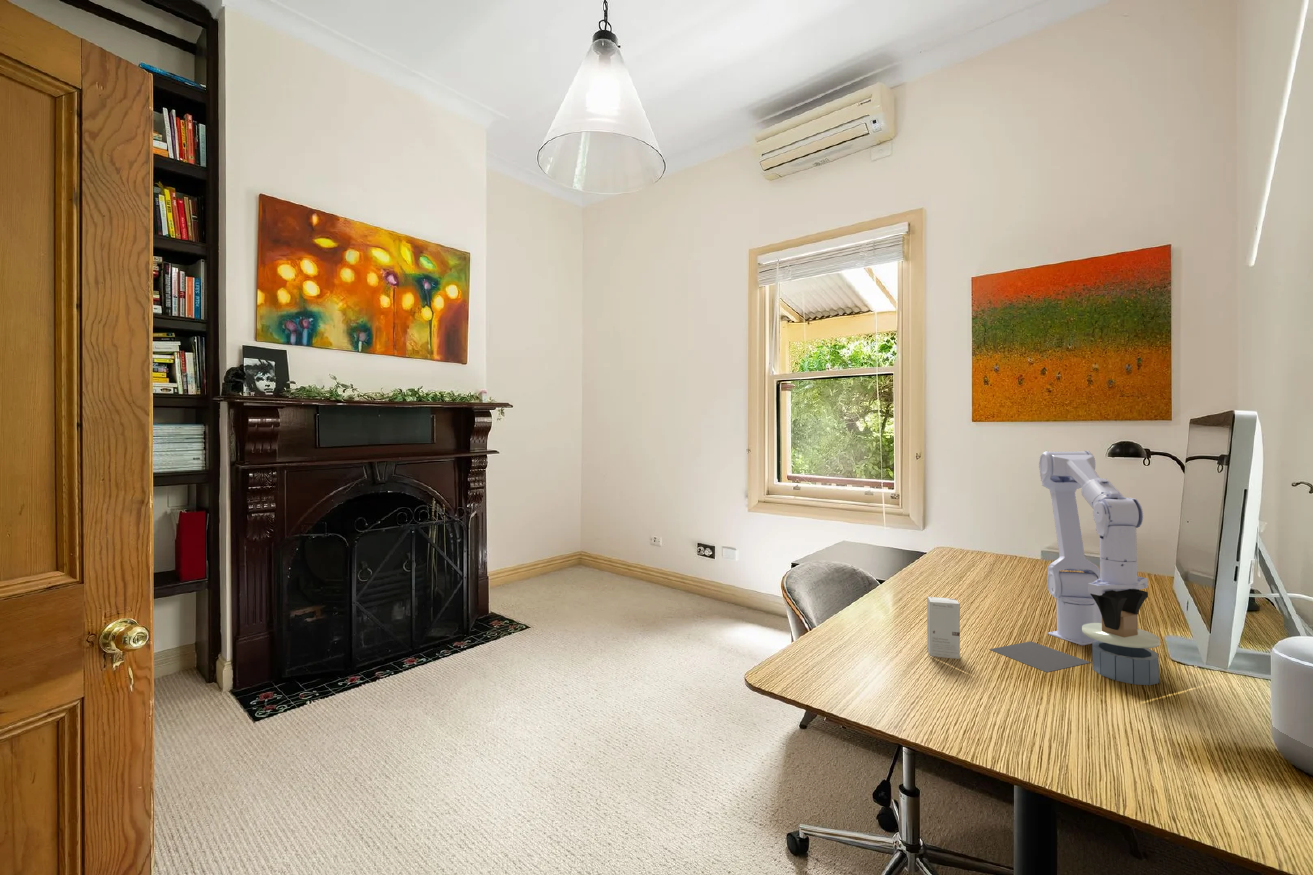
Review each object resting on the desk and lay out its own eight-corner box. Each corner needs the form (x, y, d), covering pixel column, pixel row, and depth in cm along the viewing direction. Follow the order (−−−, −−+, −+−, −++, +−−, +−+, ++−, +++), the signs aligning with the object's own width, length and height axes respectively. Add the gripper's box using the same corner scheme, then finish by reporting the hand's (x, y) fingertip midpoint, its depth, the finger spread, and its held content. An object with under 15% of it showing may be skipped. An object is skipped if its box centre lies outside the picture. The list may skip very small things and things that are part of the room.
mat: (1031, 642, 128) (1031, 641, 128) (1091, 663, 116) (1091, 662, 116) (989, 650, 124) (989, 649, 124) (1046, 673, 112) (1046, 672, 112)
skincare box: (930, 657, 121) (928, 601, 121) (926, 649, 125) (925, 596, 125) (961, 660, 119) (960, 603, 119) (957, 652, 124) (956, 597, 124)
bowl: (1114, 661, 117) (1113, 637, 117) (1171, 680, 107) (1170, 655, 107) (1081, 668, 114) (1080, 644, 114) (1137, 689, 104) (1136, 662, 104)
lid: (1107, 623, 119) (1106, 601, 119) (1175, 642, 107) (1174, 618, 107) (1067, 631, 115) (1067, 607, 115) (1133, 651, 103) (1133, 626, 103)
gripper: (1115, 566, 105) (1117, 638, 105) (1165, 559, 110) (1166, 628, 110) (1076, 558, 112) (1078, 626, 112) (1125, 552, 116) (1126, 617, 116)
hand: (1119, 626), depth 111 cm, fingers closed on lid, 4 cm apart
